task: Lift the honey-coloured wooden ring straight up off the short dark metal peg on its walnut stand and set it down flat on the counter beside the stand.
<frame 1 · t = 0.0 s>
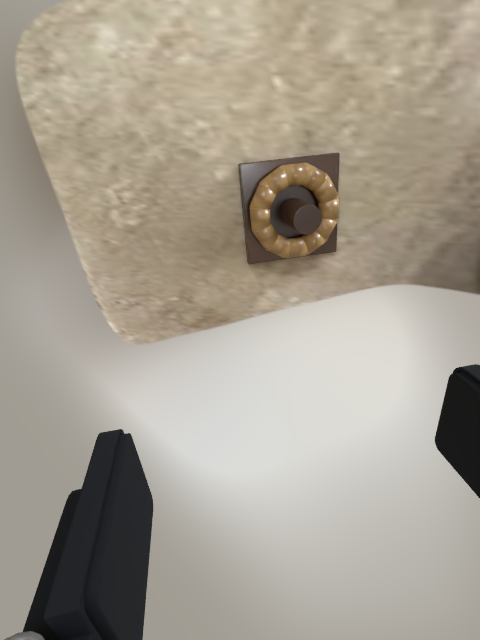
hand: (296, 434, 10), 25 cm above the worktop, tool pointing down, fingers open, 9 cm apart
peg stand: (289, 210, 32), on the worktop
ring: (294, 213, 31), point 2 cm above the worktop, touching peg stand
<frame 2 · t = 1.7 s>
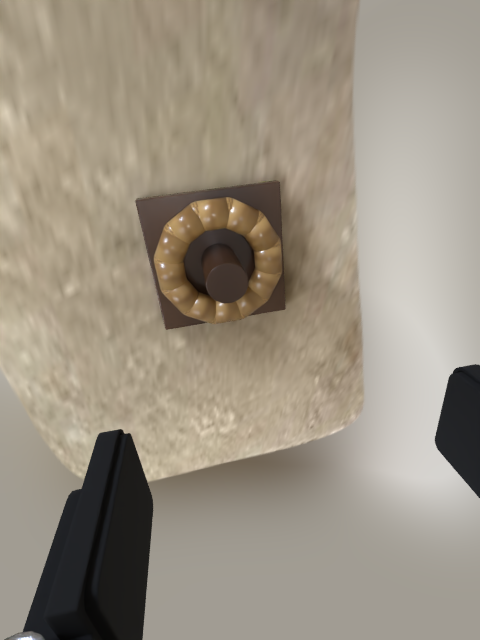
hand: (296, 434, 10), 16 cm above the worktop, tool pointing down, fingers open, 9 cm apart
peg stand: (217, 257, 23), on the worktop
ring: (220, 264, 22), point 2 cm above the worktop, touching peg stand
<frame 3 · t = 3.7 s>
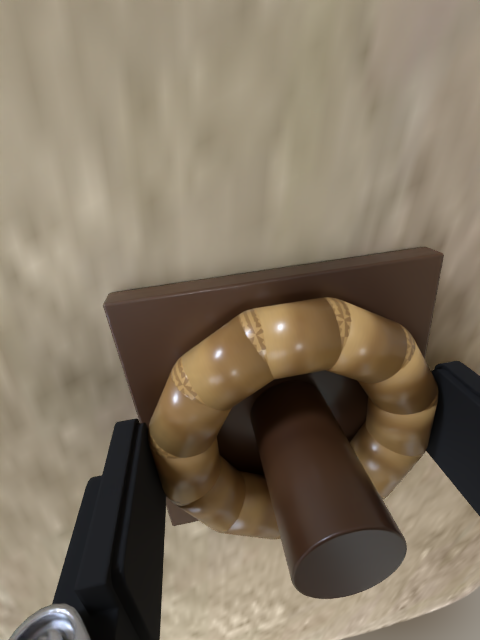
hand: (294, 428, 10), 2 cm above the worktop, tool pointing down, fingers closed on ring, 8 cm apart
peg stand: (281, 395, 11), on the worktop
ring: (296, 432, 10), point 2 cm above the worktop, touching gripper, peg stand
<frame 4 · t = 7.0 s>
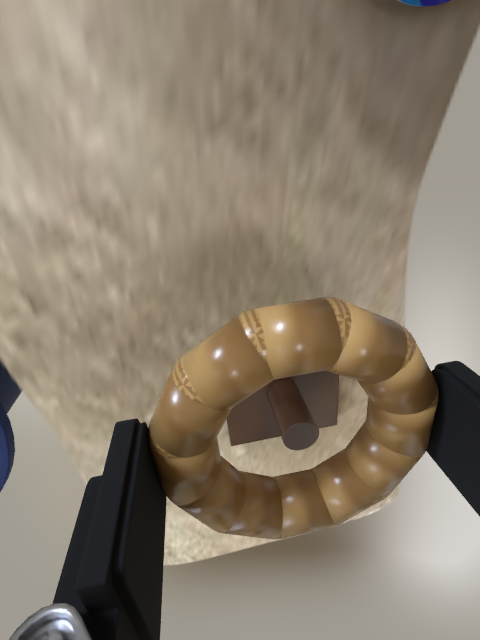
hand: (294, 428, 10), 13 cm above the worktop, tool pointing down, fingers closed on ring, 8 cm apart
peg stand: (279, 386, 26), on the worktop
ring: (296, 432, 10), point 13 cm above the worktop, touching gripper
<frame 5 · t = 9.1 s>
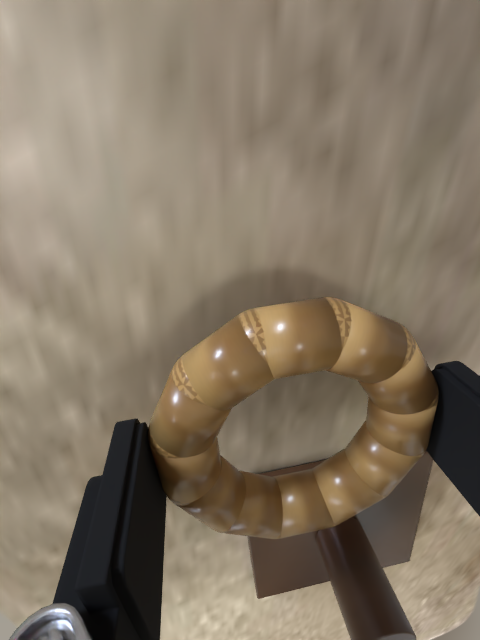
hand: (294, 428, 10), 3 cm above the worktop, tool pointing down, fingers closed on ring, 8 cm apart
peg stand: (331, 517, 18), on the worktop
ring: (296, 432, 10), point 3 cm above the worktop, touching gripper
when the fingers open (1 cm above the worktop, at t = 10.5 s): ring stays where it is, point 1 cm above the worktop.
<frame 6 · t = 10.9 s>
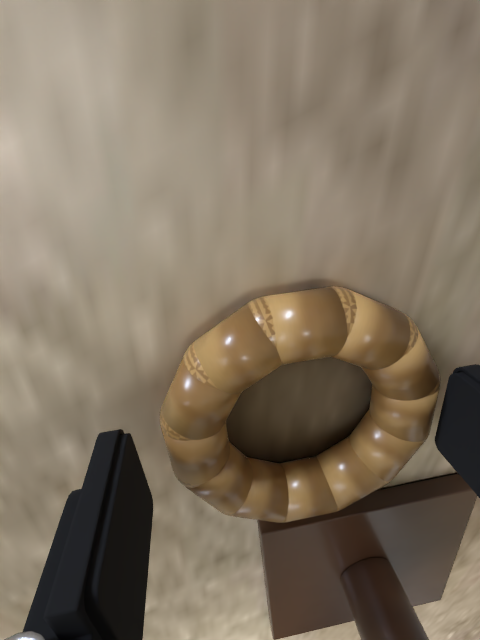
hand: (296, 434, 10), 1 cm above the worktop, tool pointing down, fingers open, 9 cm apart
peg stand: (357, 554, 16), on the worktop
ring: (302, 418, 10), point 1 cm above the worktop
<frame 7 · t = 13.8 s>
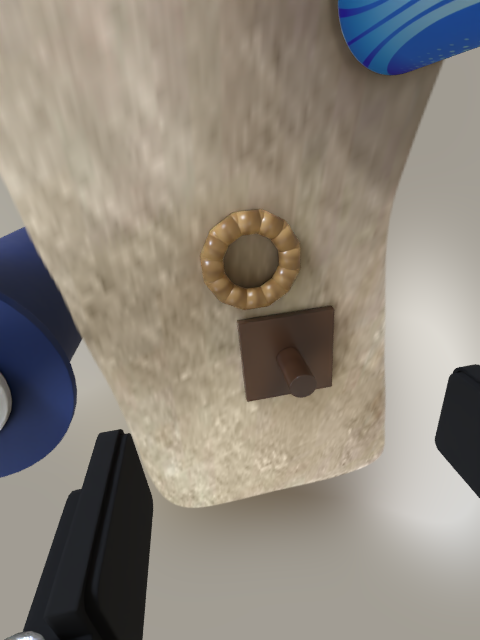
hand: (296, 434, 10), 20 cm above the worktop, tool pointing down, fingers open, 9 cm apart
peg stand: (286, 353, 33), on the worktop
beer can: (389, 2, 22), on the worktop
ring: (251, 262, 28), point 1 cm above the worktop
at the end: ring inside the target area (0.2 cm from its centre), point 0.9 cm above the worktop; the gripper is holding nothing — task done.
